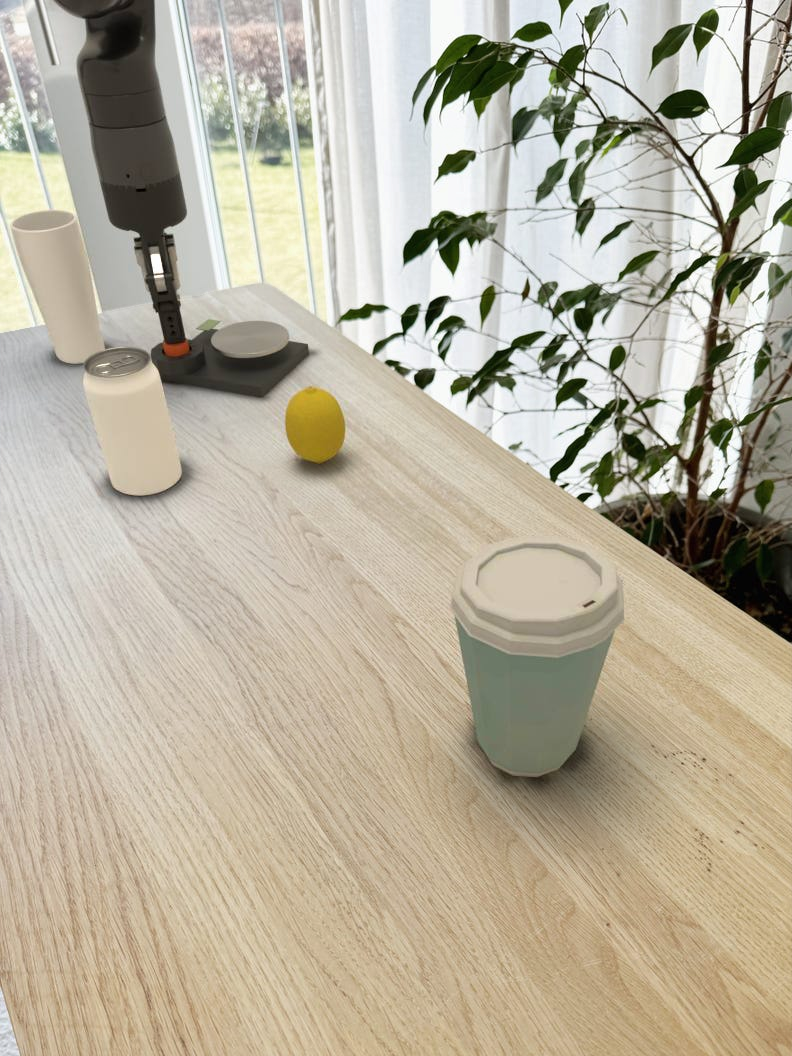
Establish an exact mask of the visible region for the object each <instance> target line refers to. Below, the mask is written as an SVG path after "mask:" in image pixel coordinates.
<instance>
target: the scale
mask: <svg viewBox="0 0 792 1056" xmlns="http://www.w3.org/2000/svg"><path fill="white" fill-rule="evenodd" d="M218 330H219V329H216V328H212V329H211V330H209V331H204V330H202V331H201V332H200V333H199V334H198V335H196V336H195V337H194V338H192V339H190V338H187V340H188V345H189V350H190V352H189V353H188V354H185V355H182V356H176V357H171V356H165V351H164V347H163V341H162V342H159V343H157V344H156V345H155V346H154V347H152V348H151V350H150V358H151V359H150V361H151V362H152V363H153V364H154V365H155V367H156V368H157V370H158V372H159V375H160V379H161V381H165V382H170V383H177V384H181V385H186V386H194V387H199V388H205V389H210V390H215V391H222V392H227V393H234V394H237V395H245V396H249V397H254V398H255V397H256V398H260V399H261V398H264V397H265V396H266V395H267V394H268V393H269V392H270V391H271V390H272V389H273V388H274V387H276V386H277V384H278V383H280V382H281V381H282V380H283V379H284V378H285V377H287V375H288V374H289V373H290V372H291V371H292V370H293V369H295V368H296V367H297V366H298V365H299V364H300V363H301V362H302V361H303V360H304V359H305V358H307V357H308V356H309V355H310V350H309V344H308V343H305V342H299V341H292V340H289V342H288V343H287V345H286V346H285V347H283V348H282V349H280V350H279V351H277V352H274V353H272V354H269V355H265V356H261V357H254V358H233V357H228V356H224V355H221V354H219V353H217V352H216V351H215V350H214V349H213V348H212V344H211V338H212V336H213V335H214V333H215V332H217V331H218Z"/></svg>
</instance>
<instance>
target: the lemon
mask: <svg viewBox="0 0 792 1056" xmlns="http://www.w3.org/2000/svg"><path fill="white" fill-rule="evenodd" d="M344 416H345V415H344V414H343V410H342V408H341V406H340V403H339V401H338V400H337V399H336V398H335V396H333V394H332V393H330V392H328V391H327V390H325V389H322V388H319V387H315V386H313V385H309V386H307V387H306V388H303V389H301V390H300V391H298V392H295V394H293V396H292V397H291V398H290V400H289V402H288V403H287V406H286V410H285V416H284V424H285V425H284V426H285V427H284V428H285V435H286V438H287V442H288V443H289V445H290V447H291V449H292V450H293V451H294V452H295V454H296V455H298V456H299V457H300V458H302V459H303V460H306V461H309V462H312V463H313V462H314V463H316V464H318V465H321V464H323V463H324V462H327V461H329V460H330V459H332V458H334V457H335V456H336V455H337V454H338V453H339V452H340V450H341V449H342V447H343V445H344V442H345V439H346V421H345V417H344Z"/></svg>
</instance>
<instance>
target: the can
mask: <svg viewBox="0 0 792 1056" xmlns="http://www.w3.org/2000/svg"><path fill="white" fill-rule="evenodd" d="M82 367H83V370H84V375H83V379H82V381H83V382H82V384H83V389H84V393H85V396H86V400H87V403H88V407H89V411H90V414H91V418H92V421H93V425H94V428H95V432H96V435H97V439H98V442H99V445H100V449H101V452H102V457H103V460H104V463H105V466H106V469H107V473H108V477H109V481H110V483H111V486H112V488H114V489H115V490H116V491H118V492H119V493H122V494H125V495H130V496H136V497H137V496H141V497H143V496H150V495H154V494H158V493H161V492H164V491H166V490H168V489H170V488H172V487H173V486H174V485H176V483H177V482H179V480H180V479H181V477H182V474H183V470H182V465H181V464H182V463H181V459H180V455H179V452H178V447H177V443H176V438H175V434H174V429H173V425H172V421H171V417H170V413H169V408H168V404H167V400H166V395H165V393H164V387H163V384H162V380H161V379H160V375H159V372H158V370H157V368H156V367H155V365H154V364H153V363H152V360H151V354H150V353H149V352H148V351H147V350H144V349H142V348H140V347H134V346H116V347H110V348H105V350H102V351H99V352H97V353H95V354H93V355H91V356H90V357H88V358H87V359H86V360H85V362H84V363H82Z"/></svg>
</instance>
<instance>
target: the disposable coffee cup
mask: <svg viewBox="0 0 792 1056" xmlns="http://www.w3.org/2000/svg"><path fill="white" fill-rule="evenodd" d="M617 567H618V566H617V565H616V564H615V563H613V561H611V560H610V559H609V558H608V557H607V556H605V555H604V554H603V553H602V552H601V551H600V550H599V549H598V548H597V547H595V546H593V545H590V544H586V543H583V542H580V541H577V540H574V539H571V538H568V537H564V536H560V535H528V534H527V535H526V534H523V535H519V536H515V537H511V538H507V539H504V540H501V541H500V540H499V541H496V542H492V543H489V544H487V545H486V546H484V547H482V548H481V549H480V550H478V551H477V552H476V553H475V554H474V555H472V557H470V558H469V559H468V560H466V561H465V562H464V563H463V564H461V565H460V566H459V567H458V568H457V569H456V573H455V577H454V578H455V579H454V582H453V587H452V593H451V598H450V603H449V610H450V611H451V612H452V614H453V615H454V621H455V625H456V630H457V631H456V632H457V636H458V642H459V647H460V652H461V659H462V663H463V668H464V674H465V679H466V686H467V691H468V695H469V701H470V707H471V712H472V717H473V723H474V728H475V734H476V739H477V743H478V745H479V746H480V748H481V749H482V751H483V753H484V754H485V755H486V757H487V759H488V760H489V762H490V764H491V765H492V766H493V767H495V768H497V769H499V770H501V771H503V772H504V773H507V774H509V775H511V776H514V777H515V776H516V777H529V778H539V777H541V776H543V775H547V774H549V773H552V772H555V771H558V770H559V769H560V768H561V767H562V766H563V765H564V764H565V762H567V760H568V759H569V758H570V757H571V755H572V754H573V753H574V752H575V751H576V750H577V747H578V744H579V741H580V738H581V735H582V733H583V732H582V731H583V729H584V726H585V723H586V719H587V716H588V713H589V712H590V711H589V710H590V707H591V705H592V702H593V698H594V695H595V692H596V689H597V686H598V684H599V681H600V677H601V674H602V671H603V668H604V664H605V662H606V659H607V656H608V653H609V650H610V647H611V643H612V641H613V638H614V636H615V635H614V634H615V632H616V630H617V629H618V627H619V626H621V624H622V623H623V622H624V621H625V598H624V584H623V583H624V582H623V580H624V579H622V578H621V577H620V576H619V574H618V568H617Z"/></svg>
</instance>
